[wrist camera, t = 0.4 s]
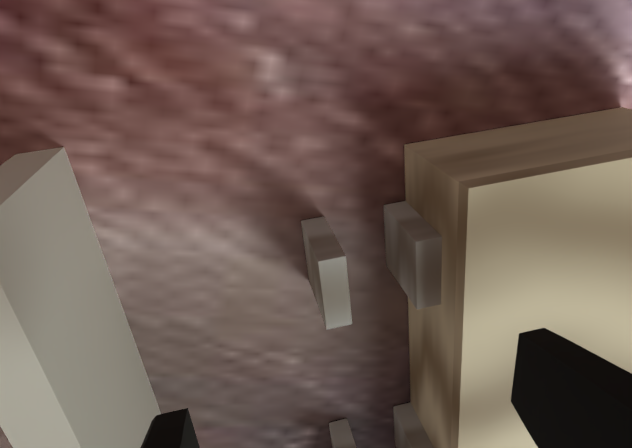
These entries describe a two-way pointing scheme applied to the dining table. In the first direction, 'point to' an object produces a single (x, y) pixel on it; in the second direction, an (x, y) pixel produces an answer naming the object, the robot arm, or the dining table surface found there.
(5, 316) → the door
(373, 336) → the dining table surface
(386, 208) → the cabinet
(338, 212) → the dining table surface
